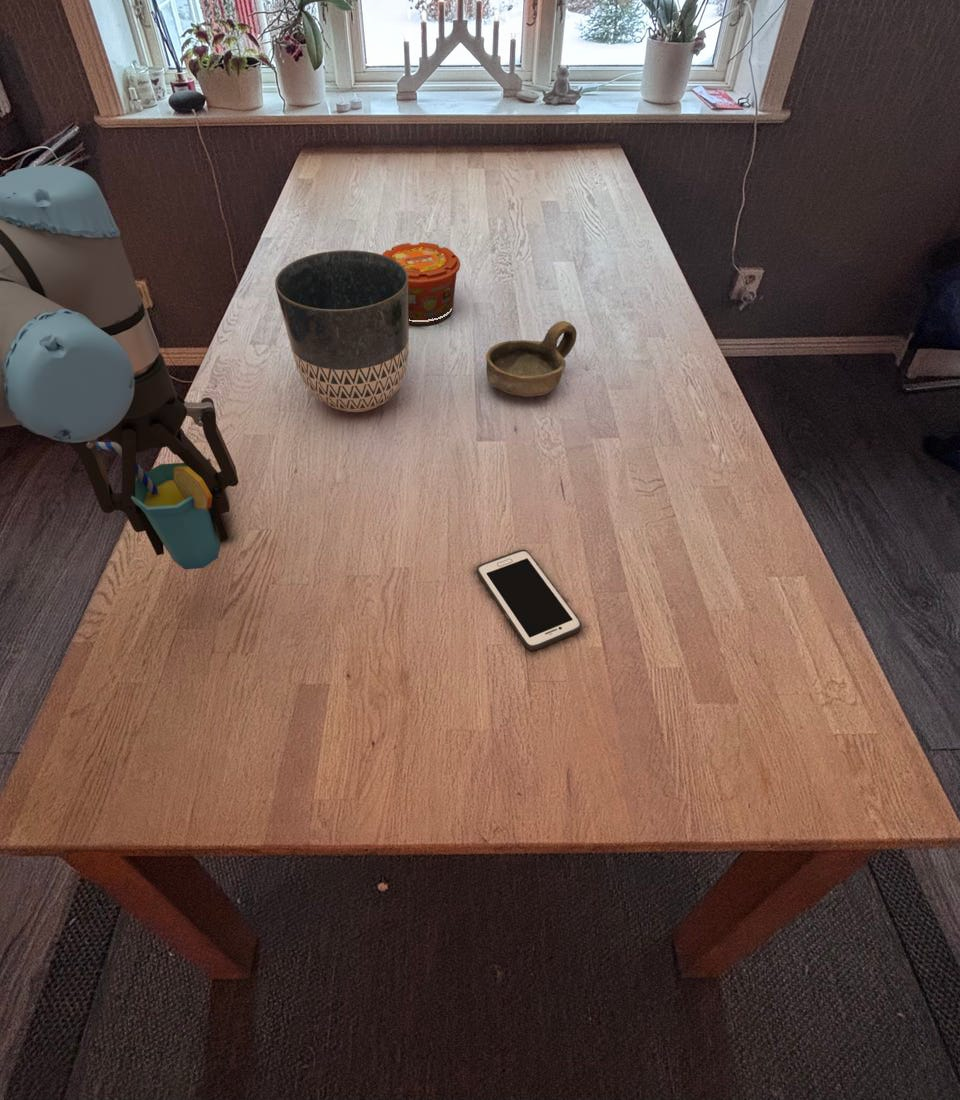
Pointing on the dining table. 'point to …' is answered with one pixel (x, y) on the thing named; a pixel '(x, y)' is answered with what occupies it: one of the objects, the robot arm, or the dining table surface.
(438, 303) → the food container
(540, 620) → the cell phone
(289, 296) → the planter
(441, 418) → the dining table surface
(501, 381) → the bowl
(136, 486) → the cup
